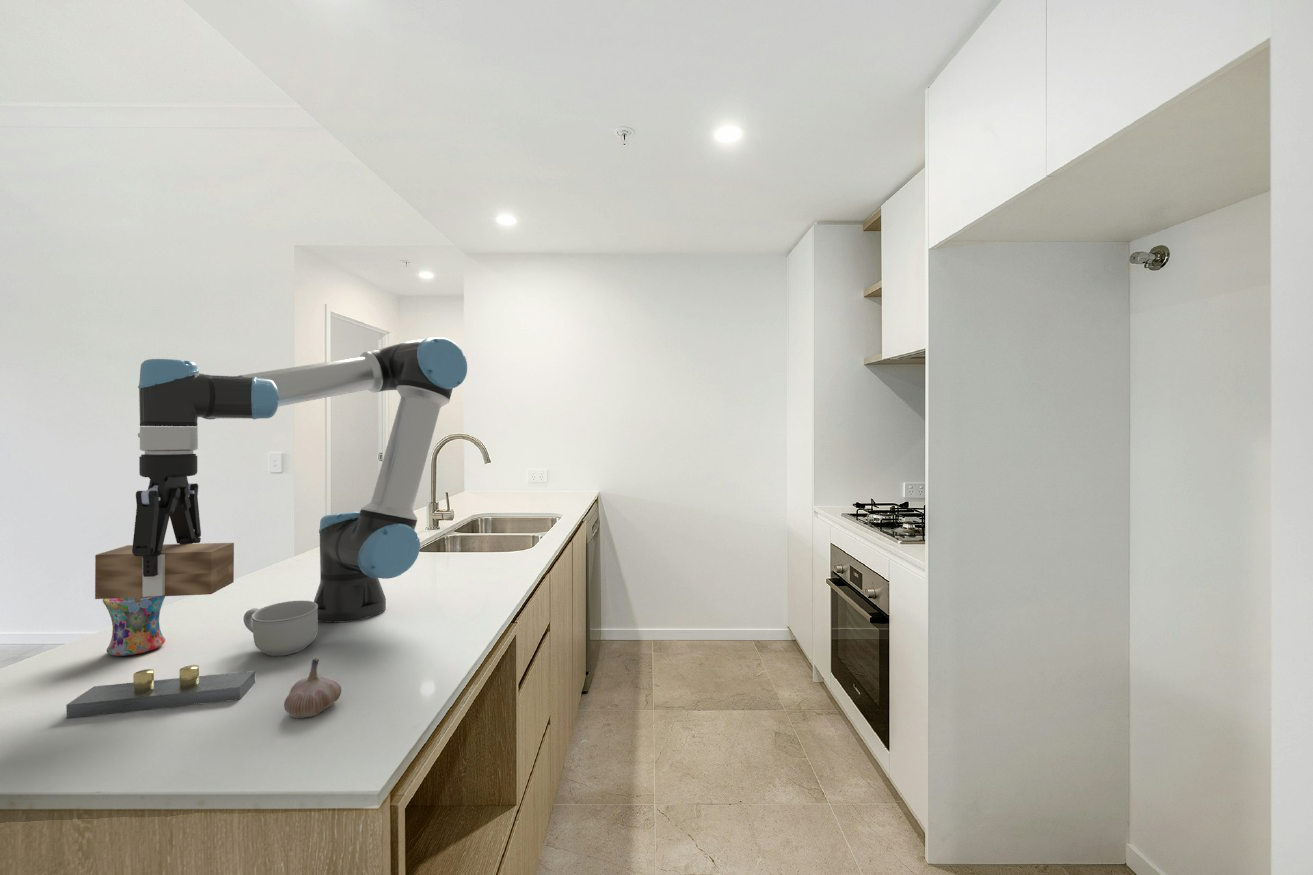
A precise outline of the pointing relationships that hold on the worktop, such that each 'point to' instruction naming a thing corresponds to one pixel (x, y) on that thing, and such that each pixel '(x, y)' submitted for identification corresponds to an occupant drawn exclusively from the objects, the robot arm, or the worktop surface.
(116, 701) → the mount rail
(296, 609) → the teacup
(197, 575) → the brown wooden block
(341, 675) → the worktop surface
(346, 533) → the robot arm
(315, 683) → the garlic bulb
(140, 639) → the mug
